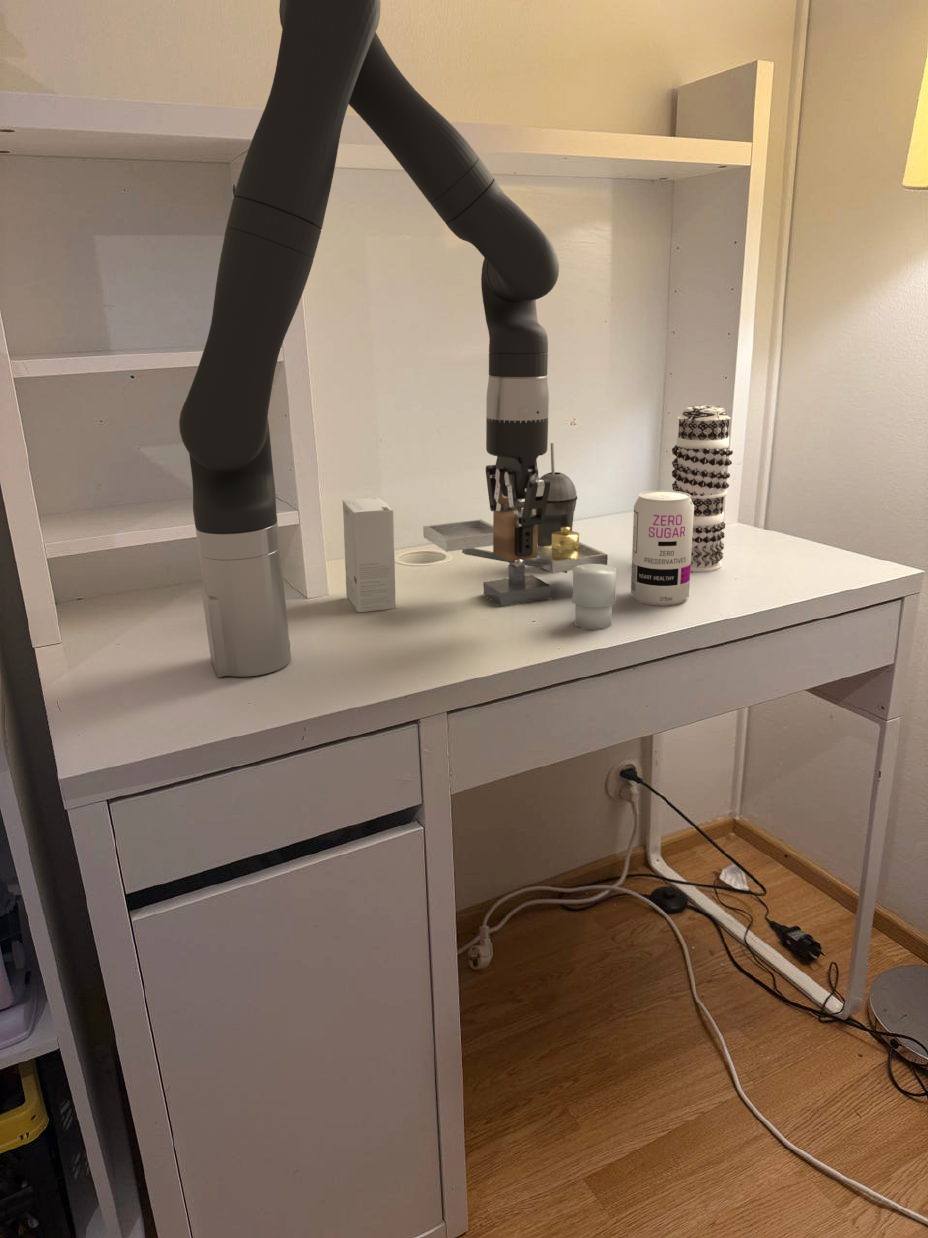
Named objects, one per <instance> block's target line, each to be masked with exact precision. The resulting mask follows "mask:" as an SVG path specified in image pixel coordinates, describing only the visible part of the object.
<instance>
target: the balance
mask: <svg viewBox="0 0 928 1238" xmlns="http://www.w3.org/2000/svg"><path fill="white" fill-rule="evenodd" d="M422 527H423V528H422V529H423V538H424V539H426V540H427V541H429V542H431V543H432V544H434V545H435V546H437V547H438V548H440V549H442V550H443V551H445V552H453V551H461V554H464V555H465V556H466V555H467V556H471V557H477V558H482V559H488V560H494V561H499V562H506V563H508V564H507V566H508V567H507V568H508V571H507V572H508V574H507V575H508V576H507V578H502V579H497V580H495V579H494V580H490V581H484V582H483V596H484V595H485V596H484V597H485V598H487V597H488V598H487V599H489V600H490V599H491V600H490V601H491V602H493V603H495V604H496V605H498V606H499V607H505V606H506V605H507V606H512V605H511V604H514V605H518V604H517V603H520V604H524V603H525V602H526V603H531V602H538V601H539V602H540V601H543V600H551V597H552V596H551V591H552V590H551V586H552V585H551V584H549V583H547V582H545V581H544V580H542V579H540V578H538V577H536V576H534V575H533V574H531V575H526V566H527V567H532V568H538V569H540V568H542V569H546V570H547V571H546V572H548V571H549V572H548V573H551V574H557V573H565V574H567V573H568V572H570V571H573V568H574V567H576V566H579V565H584V564H604V565H608V559H609V558H608V557H609V556H608V554H607V553H605V552H603V551H601V550H598V549H596V548H593V547H591V546H589V545H588V544H585V543H582V542H580V533H579V532H577V531H573V530H572V531H570V527H568V526H563V527H561V531H557V532H554V533H552V544H551V545H544V546H538V545H537V558H530V559H522V560H513V561H506V560H504V559H502V558H501V557H499V556H497V555H495V554H493V551H490V550H485V549H479V548H483V547H485V548H486V547H491V546H492V547H493V524H492V523H490V522H487V521H485V520H483V519H480V518H479V519H474V520H473V519H472V520H465V521H457V522H456V521H455V522H448V523H447V522H446V523H440V524H431V525H423V526H422Z"/></svg>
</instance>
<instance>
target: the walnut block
mask: <svg viewBox="0 0 928 1238" xmlns="http://www.w3.org/2000/svg"><path fill="white" fill-rule="evenodd" d="M492 512H493V516H492V517H493V519H492V520H493V524H492V525H493V546H492V552H493V554H495V555H497V556H499V557H501V558H502V559H504V560H506V561H513V560H522V559H530V558H537V546H538V525H536V526H534V527H533V553H532V555H531V556H527V557H518V556H516V555H515V527H516V526H515V520H514V511H513V510H503V511H492ZM522 513H523V508H522V509H521V514H522Z"/></svg>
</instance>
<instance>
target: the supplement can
mask: <svg viewBox="0 0 928 1238" xmlns="http://www.w3.org/2000/svg"><path fill="white" fill-rule="evenodd" d="M693 518H694V504H693V502H692V500H691V498H690V495H689V494H688V493H684V492H679V491H673V490H661V489H660V490H649V491H643V492H641V493H639V494H638V498H637V500H636V501H635V502H634V505H633V519H632V520H633V521H632V522H633V523H632V525H633V526H632V551H631V574H630V575H631V577H630V578H631V579H630V584H631V585H630V594H631V596H633V597H634V600H636V601H637V602H639V603H642V604H644V605H645V604H646V605H649V606H664V607H665V606H675V605H679V604H682V603H683V602H684V601H685V600H686V599H687V598H689V597H690V584H691V583H690V581H691V572H690V568H691V551H692V535H693Z"/></svg>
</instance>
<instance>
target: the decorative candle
mask: <svg viewBox="0 0 928 1238" xmlns="http://www.w3.org/2000/svg"><path fill="white" fill-rule="evenodd" d="M676 418H677V419H678V435H677V437H676V444H675V445H674V447H672V449H671V453H672V455H673V456H675V457H674V459H673V460H672V461H671V465H672V467H673V468H674V469H672V471H671V476H672V478H674V479H675V480H674V481H673V483H672V484H671V487H672V491H679V492H684V493H688V494H689V495H690V498H691V500H692V502H693V504H694V518H693V535H692V551H691V568H690V573H691V572H692V573H694V572H695V573H705V572H714V571H718V570H720V569H721V568H722V567H723V563H722V561H721V560H723V559H724V552H723V550H724V548H725V543H724V542H723V541H722V539H724V538H725V532H724V531H722V530H724V529H726V523H725V522H724V517H725V511H724V502H725V501H724V499H725V497H726V496H728V490H727V489H728V488H729V487H730V484H729V483H728V482H727V481H726V480H728V479H729V478H730V477H731V473H729V472H727V470H726V468H727V467H729V466H731V465H732V464H733V462H732V460H731V459H730V458H729V457H730V456H731V455H733V453H734V451H733V450H732V449H730V448H729V446H730V436H729V432H730V431H729V430H730V420H731V419H732V416H731V415H730V416H729V415H728V413H727V411H726V408H724V407H722V406H720V405H693V406H687V407H686V408H685V409H684V410H683V412H682V414H681V415H679V416H676Z"/></svg>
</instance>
